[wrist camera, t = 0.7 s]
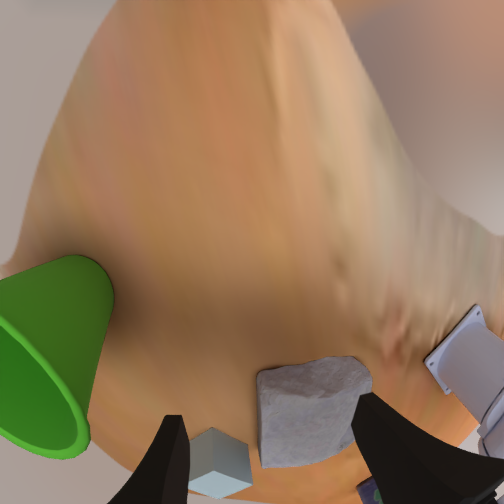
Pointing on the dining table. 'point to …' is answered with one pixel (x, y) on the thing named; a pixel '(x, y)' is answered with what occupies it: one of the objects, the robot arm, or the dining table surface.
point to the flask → (369, 492)
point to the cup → (51, 353)
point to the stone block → (308, 410)
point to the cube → (218, 464)
